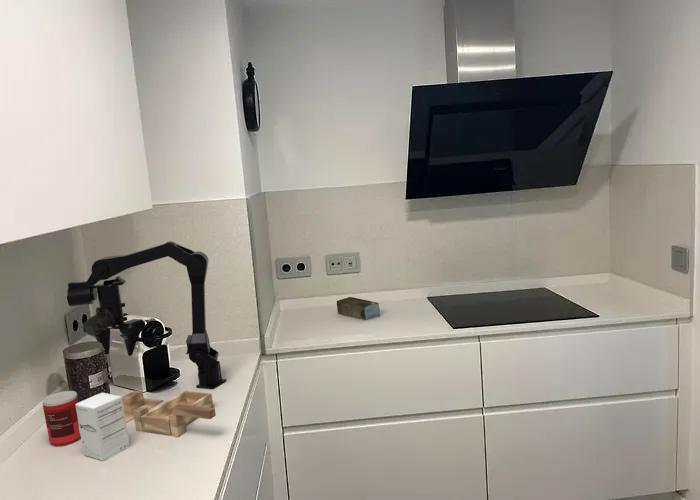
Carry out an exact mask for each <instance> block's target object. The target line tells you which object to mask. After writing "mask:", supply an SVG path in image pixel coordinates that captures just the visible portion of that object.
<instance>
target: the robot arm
mask: <svg viewBox="0 0 700 500" xmlns="http://www.w3.org/2000/svg"><path fill="white" fill-rule="evenodd" d="M166 257H169V258H170V259H172V260H174V261H175V262H177V263H179V264H180V265H182V266H184V267H186V271H187V276H188V279H189V283H190V287H191V288H190V290H191V291H190V292H191V293H190V294H191V326H192V327H191V328H192V333H191V334H188V335H187V337H186V340H185V343H186V348H187V350H186V353H185V355H188V359H189V360H190V361H191V362H192V363H194V364H195V365H196V366H197V371H198V373H197V378H198V382H199V383H198V384H196V386H195V387H196V388H199V389H211V390H213V389H216V388H217V387H218V386H221V385H222V384H223V383H225V382H227V379H226V378H223V377H222V368H221V363H220V361H219V360H218V359H219V354H220V352H219V351H217V350H216V349H214V348H213V347H212V346H211V343H210V339H209V334H208V331H207V324H206V323H207V322H206V320H207V319H206V318H207V317H206V316H207V315H206V284H205V283H206V278H207V273H208V267H209V256H208V255H206V254H205V252H202V251H199V250H198V251H194V250H191V249H190V248H188V247H185V246H182V245H180V244H178V243H176V242H175V241H172V240H171V241H170V240H169V241H167V242H165V243H162V244H159V245H155V246H151V247H149V248H146V249H142V250H138V251H136V252H135V251H134V252H132V253H128V254H123V255H122V254H121V255H112V256H111V255H110V256H103V257H102V258H101V257H100V259H97V260H95V261H94V262H93V263H92V265H91V269H90V271H91V274H90V275H89V277H88V278H87V280H84V281H83V280H82V281H71V282H68V283H67V287H68V288H67V291H66V292H67V296H66V300H67V304H68V306H69V307H71V308H72V307H73V308H74V307H79V306H87V305H89V306H90V305H93V304H94V303H95V301H97V299H98V305H99V306H97V307H96V309H95V314H94V315H93V316H91V317H90V318H89V319H87V320H86V321H85V322H84V323H83V324H82V329H83V333H86V334H87V335H88V336H91V337H93V338H95V340H96V341H97V343H98V342H100V343H102V345H103V347H104V349H105V352H106V354H105V355H109V354H110V346H111V345H110V343H111V330H119V332H120V334H119V336H120V337H121V338H122V339H123V340H124V345H125V348H126V352H127V355H128V357H131V356H133V354H134V351H135V348H136V346H137V342H138V339H139V337H140V335H141V333H142V332H144V330H145V329H147V327H146V321H145V320H144V319H142V318H140V319H139V318H133V319H130V320H128V316H124V312H123V310H124V309H123V308H124V307H126V302H122V298H121V292H120V286H123V285H125V283H127V281H126V280H125V279H123V278H122V277H121V276H119V275H118V274H121V273H122V272H124V271H126V270H128V269H131V268H135V267H137V266H141V265H144V264H147V263H151V262H154V261H157V260H160V259H161V260H162V259H163V258H166ZM116 275H118V276H116ZM114 276H116V277H115V278H114V279H110V278H112V277H114ZM101 281H103V283H100V284H98V283H99V282H101Z"/></svg>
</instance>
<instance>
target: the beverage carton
mask: <svg viewBox="0 0 700 500" xmlns="http://www.w3.org/2000/svg"><path fill="white" fill-rule="evenodd" d="M336 308H337V314H338V315H340V314H342V315H341V316H345V315H346V317H349V316H350V318H353V317H354V319H357V318H358V319H357V320H361V319H362V321H366V320H367V321H369V319H370V320H373V319H376V318H379V317H381V310H380V304H379V302H377V301H372V300H368V299H363V298H359V297H358V298H357V297H354V296H353V297H352V296H349V297H345V298H342V299H339V300H336Z"/></svg>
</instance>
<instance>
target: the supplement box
mask: <svg viewBox="0 0 700 500" xmlns="http://www.w3.org/2000/svg"><path fill="white" fill-rule="evenodd" d="M122 397H123V396H122V395H117V394H113V393H112V394H111V393H106V392H100V393H97V394H95V395H93V396H90V397H88V398H86V399H83V400H81V401H79V403H77V404H75V405H76V411H77V417H78V423H79V429H80V435H81V439H80V440H81V445H82V453H83V455H84V456H87V457H90V458H93V459H97V460H100V461H102V462H104V461H106V460H108V459H111V458H112V457H114V456H115V455H117V454H119V453H121V452H123V451H124V450H126V449H128V448H130V439H129V433H128V426H127V423H126V420H125V413H124V407H123V400H122Z"/></svg>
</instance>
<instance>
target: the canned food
mask: <svg viewBox="0 0 700 500" xmlns="http://www.w3.org/2000/svg"><path fill="white" fill-rule="evenodd" d="M79 402H80V401H79V397H78V393H77V392H76V391H75V390H65V391H60V392H55V393H53V394H50V395H48V396H46V397H44V399H42V408H43V415H44V419H45V424H46V429H47V435H48V441H49V443H50V445H51V446H53V447H65V446H69V445H71V444H74V443H76V442H78V441H79V440H81V435H80V429H79V423H78V417H77V411H76V405H75V404H77V403H79Z"/></svg>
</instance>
